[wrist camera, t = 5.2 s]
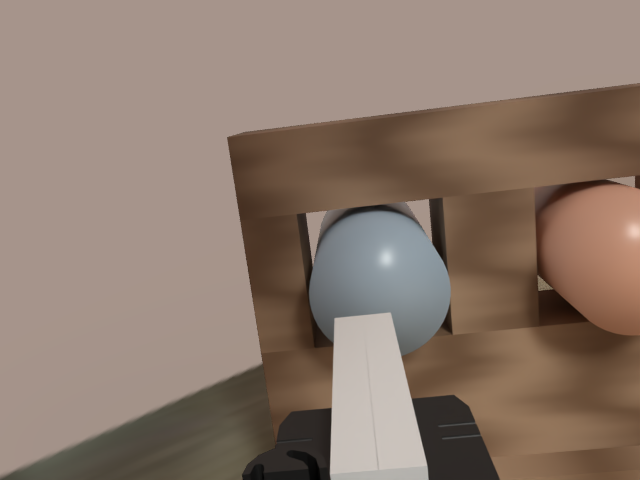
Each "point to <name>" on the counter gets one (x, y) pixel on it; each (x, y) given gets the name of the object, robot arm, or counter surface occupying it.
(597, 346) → the brown wooden rectangular frame
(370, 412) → the robot arm
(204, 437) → the counter surface
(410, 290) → the slate button
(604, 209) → the terracotta long rounded piece
